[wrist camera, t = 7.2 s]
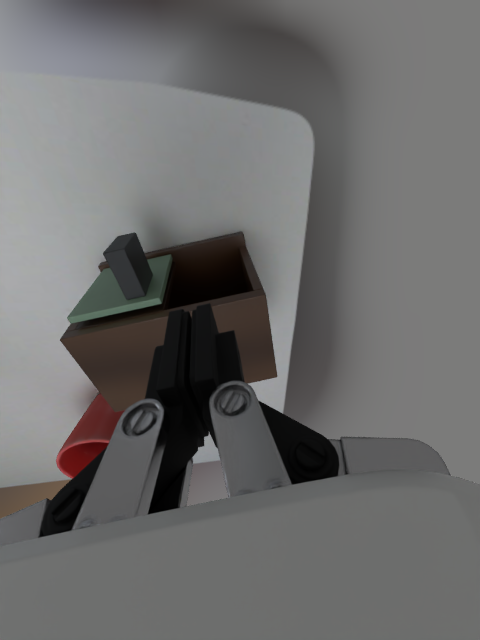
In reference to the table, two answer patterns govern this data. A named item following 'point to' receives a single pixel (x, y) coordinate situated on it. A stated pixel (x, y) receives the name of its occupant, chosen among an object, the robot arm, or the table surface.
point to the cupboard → (181, 293)
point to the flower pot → (88, 437)
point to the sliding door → (124, 281)
